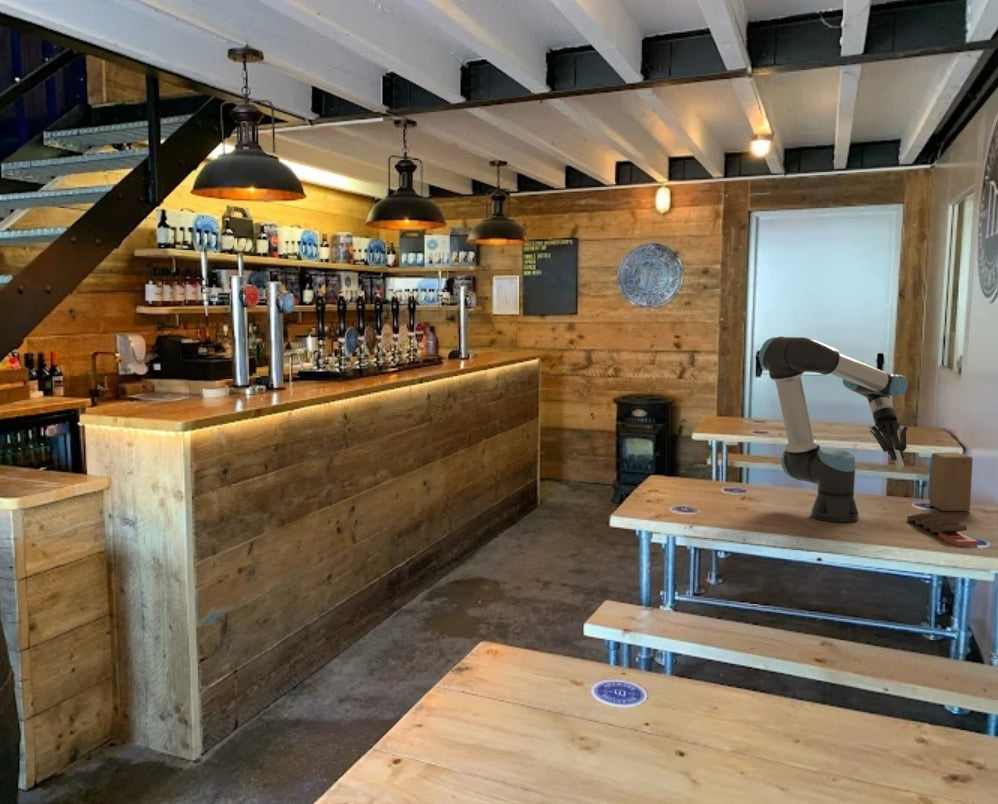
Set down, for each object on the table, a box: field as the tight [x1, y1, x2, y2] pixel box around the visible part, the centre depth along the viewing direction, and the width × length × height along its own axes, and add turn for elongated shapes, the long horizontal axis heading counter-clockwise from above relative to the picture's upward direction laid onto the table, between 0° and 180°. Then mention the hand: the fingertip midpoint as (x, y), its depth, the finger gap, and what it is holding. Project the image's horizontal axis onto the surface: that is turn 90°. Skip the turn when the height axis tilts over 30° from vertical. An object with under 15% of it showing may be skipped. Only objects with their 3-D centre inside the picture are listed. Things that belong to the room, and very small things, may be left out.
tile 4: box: [929, 524, 967, 534], centre depth 248 cm, size 2×6×11 cm
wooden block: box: [929, 452, 974, 512], centre depth 284 cm, size 10×10×20 cm
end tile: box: [938, 531, 979, 547], centre depth 244 cm, size 2×6×11 cm
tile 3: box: [922, 520, 960, 530], centre depth 253 cm, size 2×6×11 cm
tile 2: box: [914, 516, 952, 526], centre depth 258 cm, size 2×6×11 cm
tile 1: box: [906, 513, 943, 522], centre depth 263 cm, size 2×6×11 cm
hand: (900, 467), depth 278 cm, fingers closed
